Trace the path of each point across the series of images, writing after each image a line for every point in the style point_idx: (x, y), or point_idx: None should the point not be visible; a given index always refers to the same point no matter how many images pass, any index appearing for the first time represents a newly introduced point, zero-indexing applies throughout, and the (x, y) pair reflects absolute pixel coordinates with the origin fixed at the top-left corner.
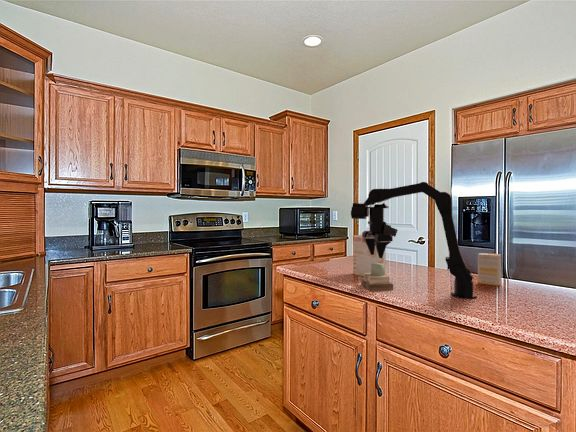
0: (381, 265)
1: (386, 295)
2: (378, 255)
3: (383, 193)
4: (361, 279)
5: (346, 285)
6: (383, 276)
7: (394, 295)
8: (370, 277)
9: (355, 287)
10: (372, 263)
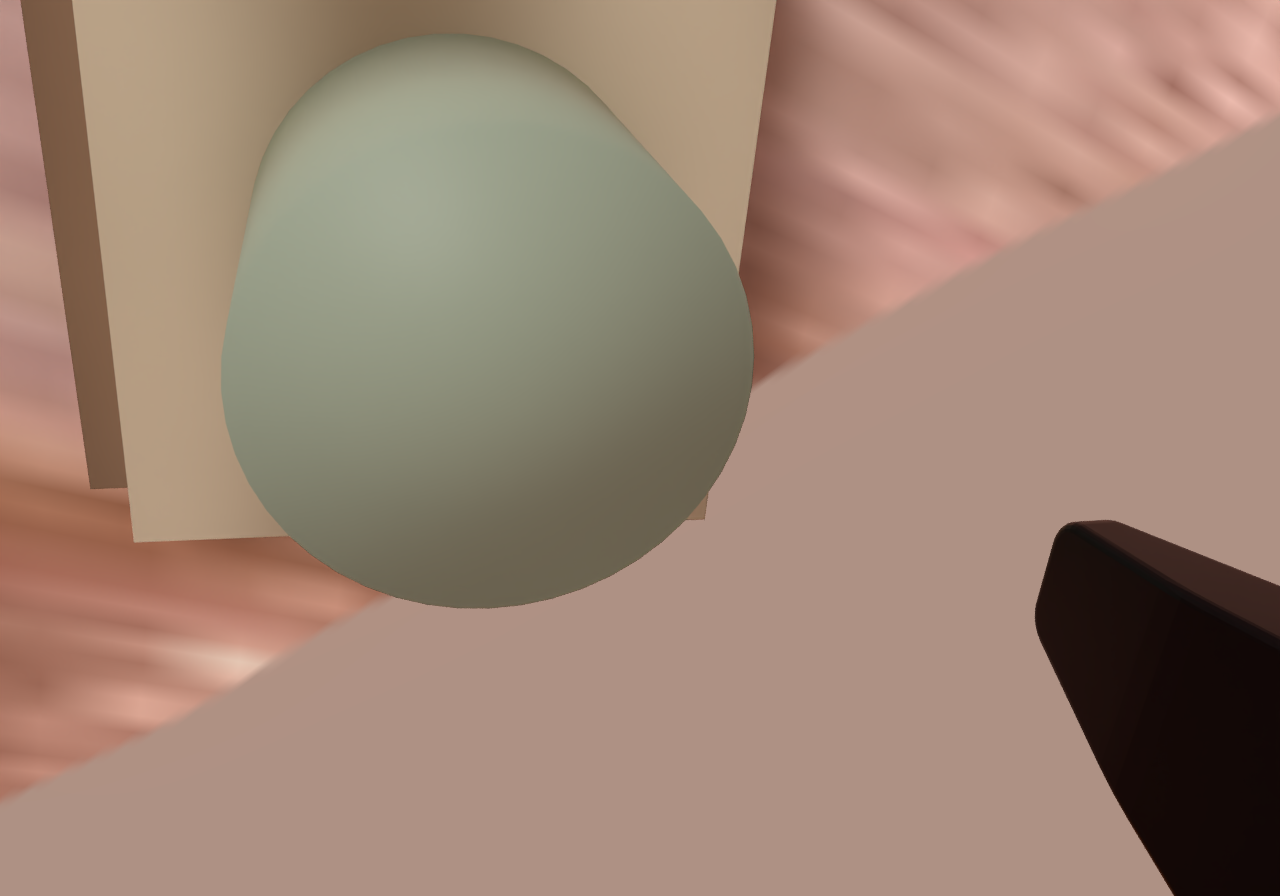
0: (741, 297)
1: (1068, 212)
2: (1105, 752)
3: None
4: (94, 482)
5: (155, 716)
6: (727, 144)
7: (1130, 52)
8: (703, 514)
9: (353, 590)
10: (335, 533)
